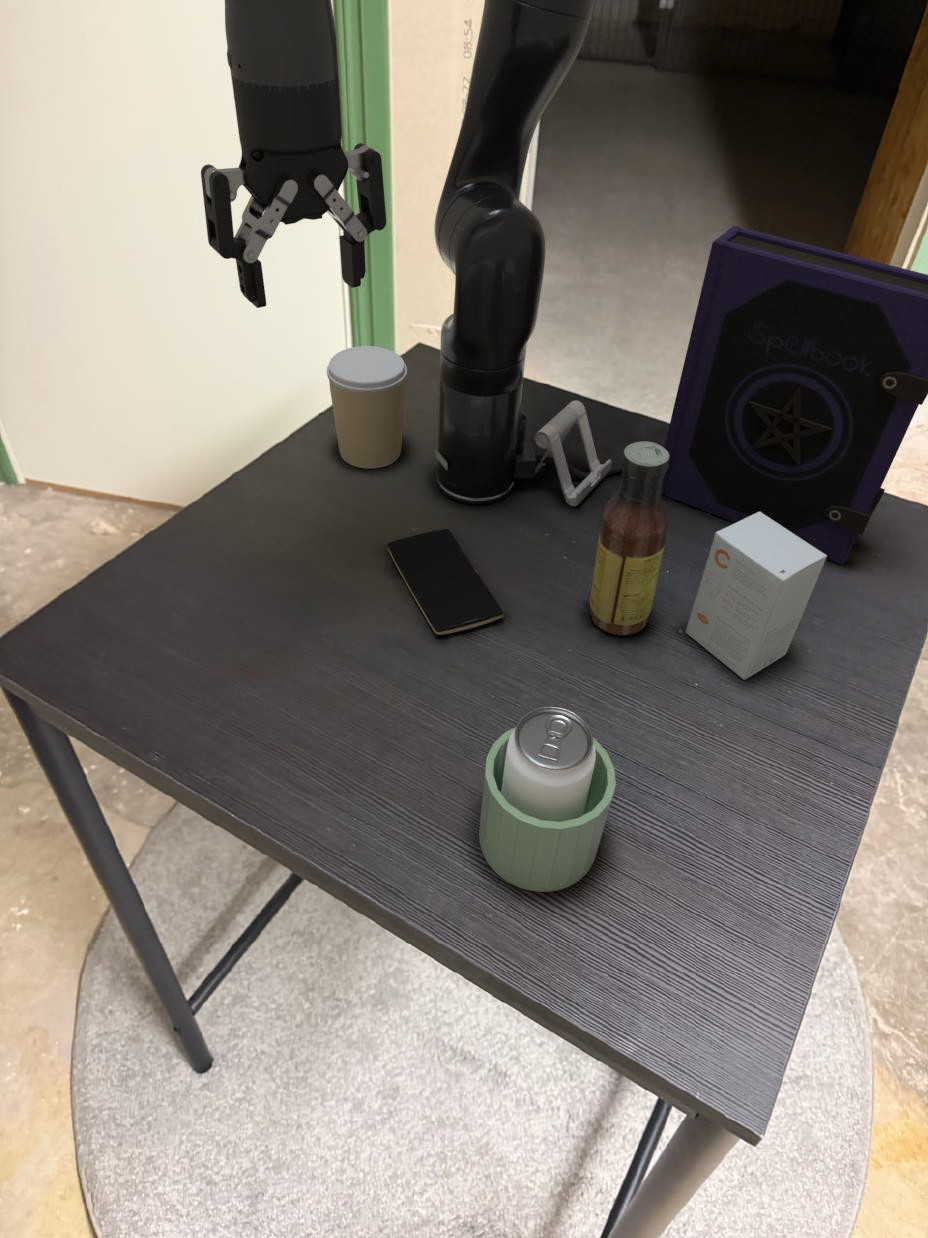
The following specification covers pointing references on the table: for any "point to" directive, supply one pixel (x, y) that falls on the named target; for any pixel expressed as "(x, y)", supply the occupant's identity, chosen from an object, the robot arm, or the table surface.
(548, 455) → the tablet stand
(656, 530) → the sauce bottle
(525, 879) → the holder
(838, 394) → the book
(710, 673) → the table surface
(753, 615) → the small box
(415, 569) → the smartphone
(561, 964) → the table surface
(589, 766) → the can
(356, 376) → the coffee cup
